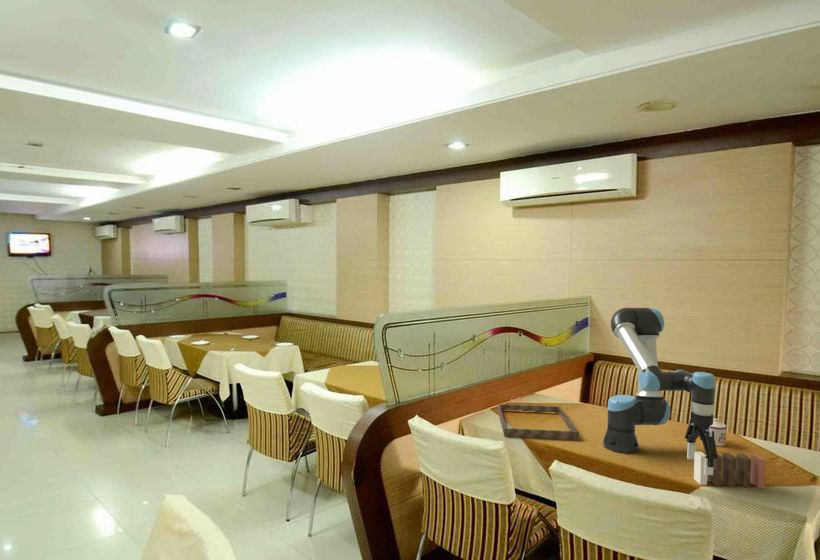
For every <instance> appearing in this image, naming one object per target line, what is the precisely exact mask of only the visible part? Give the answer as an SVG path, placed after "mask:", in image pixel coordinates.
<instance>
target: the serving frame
mask: <svg viewBox="0 0 820 560" xmlns="http://www.w3.org/2000/svg"><path fill="white" fill-rule="evenodd" d="M501 410H522V411H535V412H555V413H559V414H560V415H559V414H558V415H559V417H560V416H561V417H562V418H561V417H560V418H561V420H562V419H563V420H564V421H563V420H562V421H563V423H564V422H565V423H566V424H565V423H564V424H565V426H566V425H567V426H568V427H567V426H566V427H567V429H568V428H569V429H570V430H569V429H568V430H558V429H557V430H555V429H554V430H553V429H537V428H536V429H534V428H517V427H516V428H514V427H507V425H506V421H505V418H504V415H503V412H502V411H501ZM498 412H499V414H498V417H499V416H500V418H499V421H501V422H500V426H501V425H502V426H501V430H502V429H503V430H502V433H503V436H504V438H521V437H535V438H534V439H540V438H550V439H549V440H560V439H566V441H579V431H578V430H577V428H576V426H575V424H573V422H572V420H570V418H569V416H567V414H566V413H565V411H564V410H563V408H562V407H561V406H555V405H554V406H553V405H552V406H551V405H535V404H534V405H531V404H530V405H529V404H513V403H512V404H509V403H497V413H498Z"/></svg>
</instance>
